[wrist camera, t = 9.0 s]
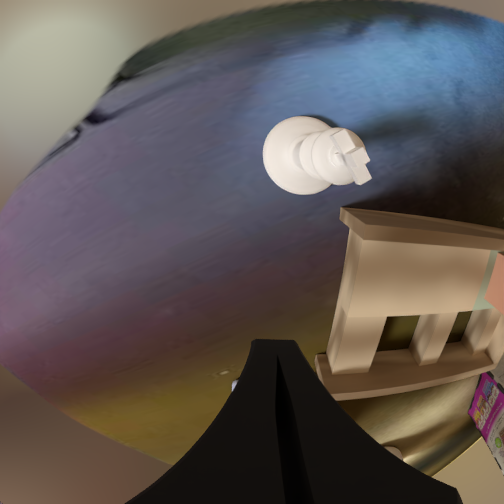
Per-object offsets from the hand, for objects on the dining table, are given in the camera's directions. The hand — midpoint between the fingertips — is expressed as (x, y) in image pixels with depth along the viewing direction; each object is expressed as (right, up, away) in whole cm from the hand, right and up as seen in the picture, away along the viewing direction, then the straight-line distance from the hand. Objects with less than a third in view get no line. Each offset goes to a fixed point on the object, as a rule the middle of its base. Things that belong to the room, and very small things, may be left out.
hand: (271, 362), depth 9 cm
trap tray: (+14, 0, +11) cm, 18 cm away
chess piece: (+2, +10, +8) cm, 13 cm away
